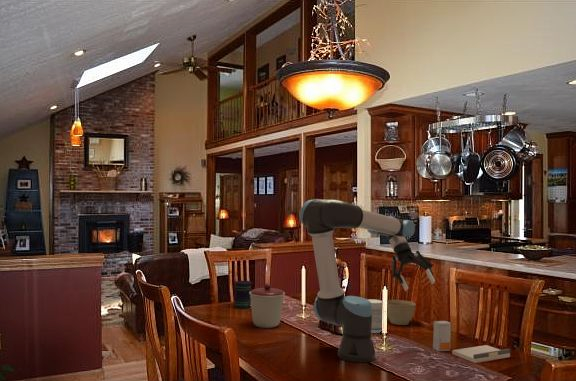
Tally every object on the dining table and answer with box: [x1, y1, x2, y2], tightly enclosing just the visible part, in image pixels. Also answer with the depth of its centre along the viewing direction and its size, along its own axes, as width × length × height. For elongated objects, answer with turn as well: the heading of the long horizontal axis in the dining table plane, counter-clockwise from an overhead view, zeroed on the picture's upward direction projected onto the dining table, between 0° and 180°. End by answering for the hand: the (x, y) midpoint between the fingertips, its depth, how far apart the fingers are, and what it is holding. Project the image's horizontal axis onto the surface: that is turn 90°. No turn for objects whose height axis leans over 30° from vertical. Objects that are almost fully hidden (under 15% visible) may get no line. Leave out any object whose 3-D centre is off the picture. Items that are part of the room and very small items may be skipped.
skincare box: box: [432, 320, 452, 352], centre depth 203 cm, size 6×4×12 cm
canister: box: [249, 282, 286, 329], centre depth 236 cm, size 18×18×21 cm
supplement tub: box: [367, 299, 383, 334], centre depth 231 cm, size 10×10×15 cm
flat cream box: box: [451, 344, 511, 364], centre depth 196 cm, size 20×12×3 cm, turn 116°
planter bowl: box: [386, 299, 417, 326], centre depth 247 cm, size 16×16×11 cm
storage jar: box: [233, 280, 252, 310], centre depth 276 cm, size 10×10×15 cm
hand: (420, 286), depth 210 cm, fingers open, 13 cm apart
